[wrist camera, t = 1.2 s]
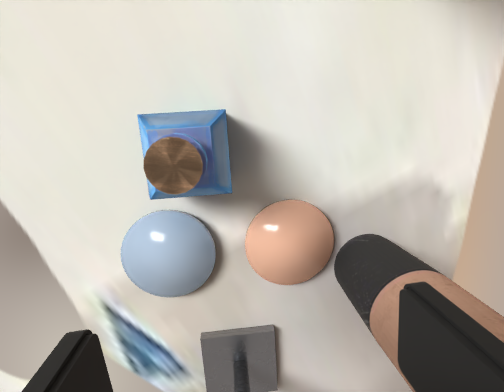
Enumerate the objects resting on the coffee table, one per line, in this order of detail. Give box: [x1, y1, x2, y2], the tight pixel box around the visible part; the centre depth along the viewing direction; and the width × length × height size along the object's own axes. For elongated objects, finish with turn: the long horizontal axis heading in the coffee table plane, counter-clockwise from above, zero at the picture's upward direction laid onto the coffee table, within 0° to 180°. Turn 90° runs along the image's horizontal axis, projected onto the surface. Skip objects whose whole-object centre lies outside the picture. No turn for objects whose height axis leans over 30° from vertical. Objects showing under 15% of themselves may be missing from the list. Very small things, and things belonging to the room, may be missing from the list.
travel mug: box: [334, 234, 504, 392], centre depth 22 cm, size 8×8×20 cm
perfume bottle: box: [138, 109, 232, 200], centre depth 22 cm, size 6×6×12 cm
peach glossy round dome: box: [245, 200, 334, 285], centre depth 30 cm, size 9×9×1 cm
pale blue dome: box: [121, 210, 216, 297], centre depth 29 cm, size 9×9×1 cm
